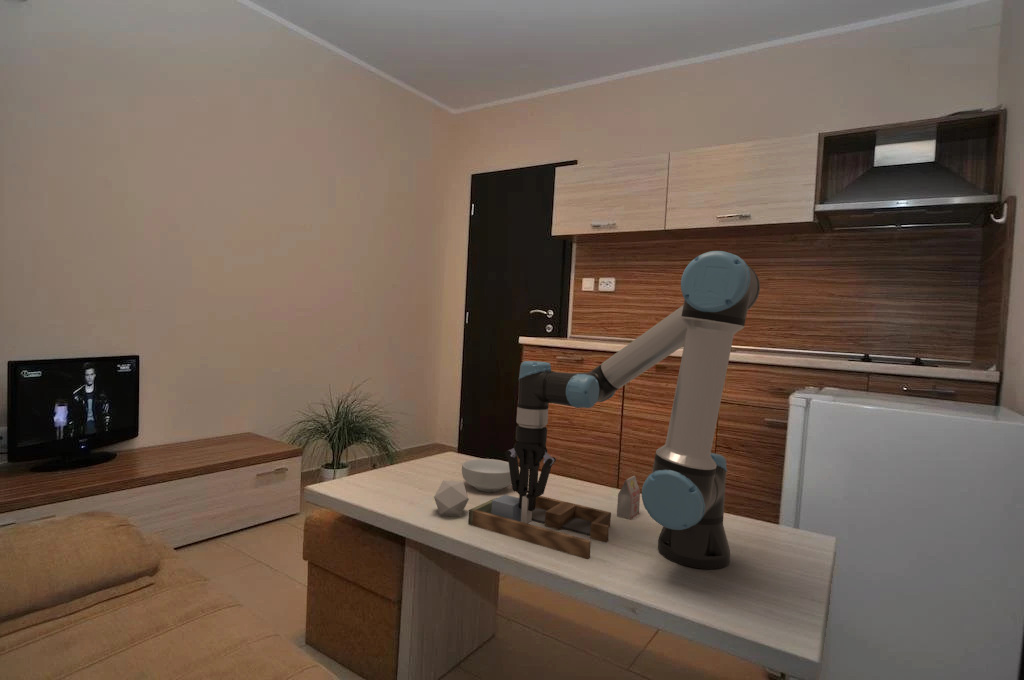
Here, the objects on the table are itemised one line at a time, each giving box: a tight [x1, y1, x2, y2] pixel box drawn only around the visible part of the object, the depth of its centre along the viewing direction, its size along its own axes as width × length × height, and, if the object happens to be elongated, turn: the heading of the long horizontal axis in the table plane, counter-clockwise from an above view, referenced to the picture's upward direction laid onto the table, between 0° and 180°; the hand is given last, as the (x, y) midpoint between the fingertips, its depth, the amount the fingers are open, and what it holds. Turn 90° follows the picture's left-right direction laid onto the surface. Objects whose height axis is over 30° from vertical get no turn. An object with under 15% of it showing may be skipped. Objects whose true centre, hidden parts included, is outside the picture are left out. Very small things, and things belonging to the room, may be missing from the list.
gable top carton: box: [616, 475, 641, 520], centre depth 136 cm, size 4×7×10 cm, turn 146°
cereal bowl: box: [461, 458, 512, 493], centre depth 154 cm, size 17×17×7 cm
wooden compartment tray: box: [467, 495, 612, 560], centre depth 124 cm, size 31×22×4 cm
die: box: [433, 480, 469, 517], centre depth 130 cm, size 8×9×10 cm
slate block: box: [491, 494, 522, 522], centre depth 124 cm, size 6×6×6 cm
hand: (526, 522), depth 122 cm, fingers closed
